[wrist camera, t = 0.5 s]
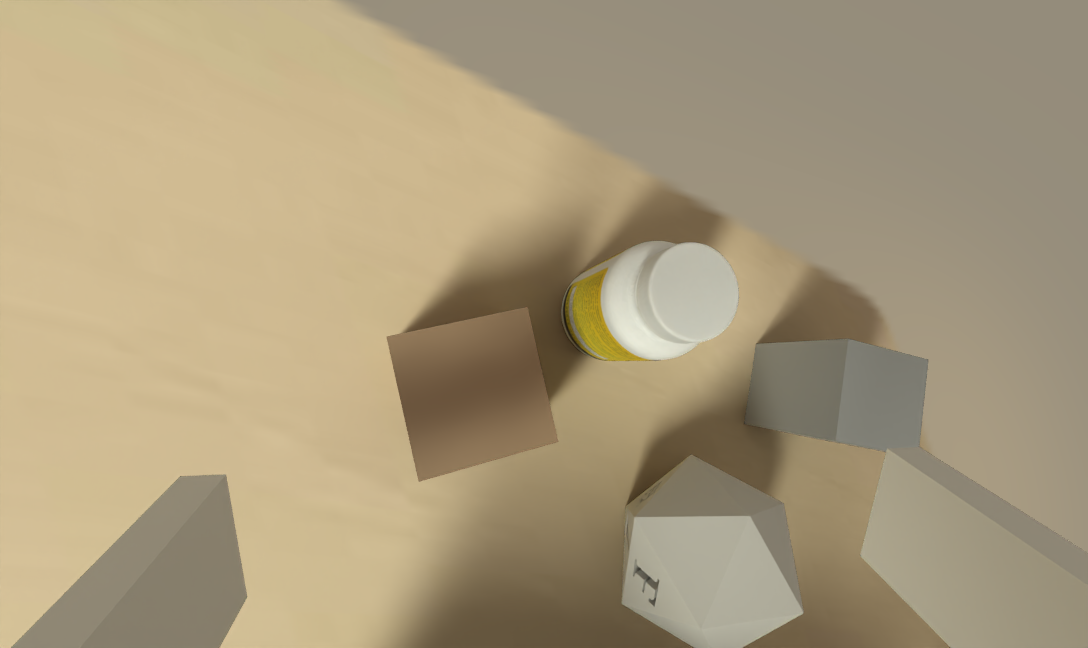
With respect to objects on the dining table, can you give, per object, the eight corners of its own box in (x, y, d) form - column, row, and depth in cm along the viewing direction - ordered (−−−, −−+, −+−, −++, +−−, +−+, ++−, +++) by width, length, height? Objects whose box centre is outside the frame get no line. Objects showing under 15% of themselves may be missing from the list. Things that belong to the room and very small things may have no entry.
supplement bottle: (603, 380, 29) (695, 389, 19) (540, 311, 28) (601, 285, 19) (664, 316, 30) (779, 295, 21) (605, 248, 29) (693, 194, 20)
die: (641, 421, 30) (610, 517, 21) (799, 454, 28) (839, 579, 19) (624, 537, 32) (590, 668, 23) (769, 577, 30) (792, 741, 21)
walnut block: (529, 424, 28) (558, 441, 22) (418, 455, 26) (418, 481, 20) (504, 318, 28) (527, 306, 22) (393, 342, 26) (386, 336, 21)
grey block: (812, 437, 32) (918, 458, 25) (744, 423, 31) (835, 440, 24) (822, 360, 33) (928, 359, 26) (755, 343, 32) (848, 338, 25)
